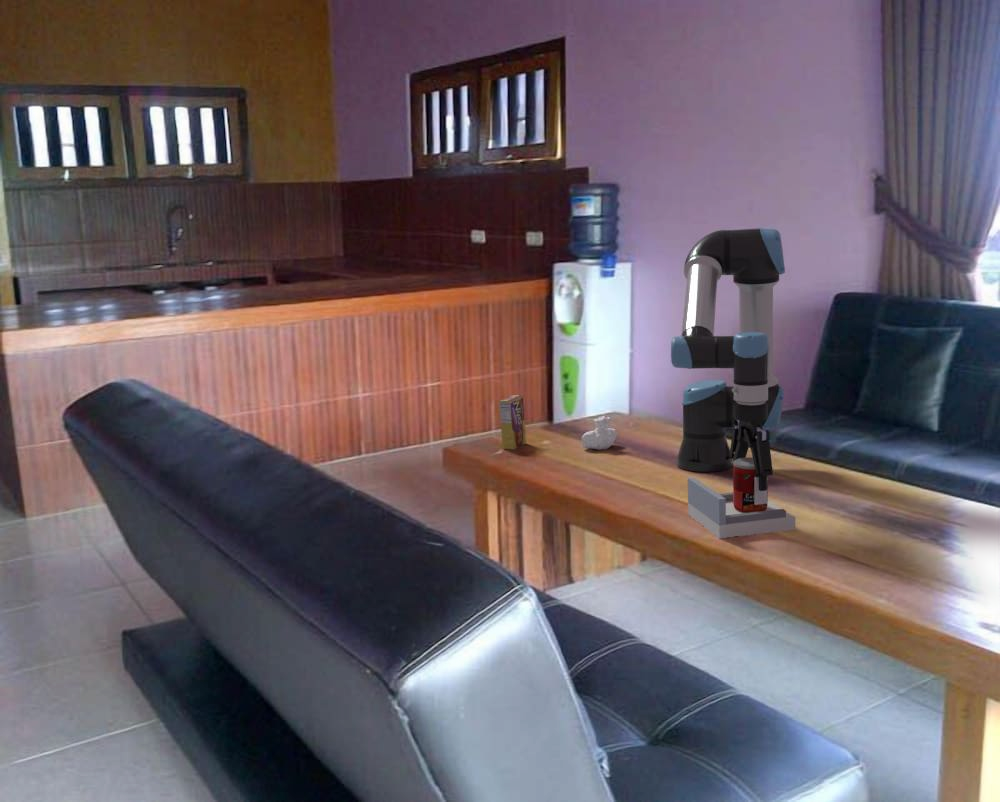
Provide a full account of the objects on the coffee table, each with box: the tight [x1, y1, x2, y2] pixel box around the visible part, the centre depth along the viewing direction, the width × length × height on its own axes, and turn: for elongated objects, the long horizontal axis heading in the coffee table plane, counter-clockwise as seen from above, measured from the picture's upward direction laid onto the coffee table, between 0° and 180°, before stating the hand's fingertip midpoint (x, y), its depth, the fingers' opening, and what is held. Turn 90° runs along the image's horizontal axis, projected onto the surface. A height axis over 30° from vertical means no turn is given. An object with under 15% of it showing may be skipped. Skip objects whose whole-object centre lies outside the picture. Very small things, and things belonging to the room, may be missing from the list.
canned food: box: [732, 456, 769, 513], centre depth 232 cm, size 8×8×11 cm
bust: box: [581, 415, 618, 451], centre depth 305 cm, size 12×8×11 cm
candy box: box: [498, 394, 527, 451], centre depth 313 cm, size 9×4×15 cm, turn 152°
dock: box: [687, 477, 796, 540], centre depth 232 cm, size 18×18×9 cm
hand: (750, 497), depth 232 cm, fingers open, 10 cm apart
